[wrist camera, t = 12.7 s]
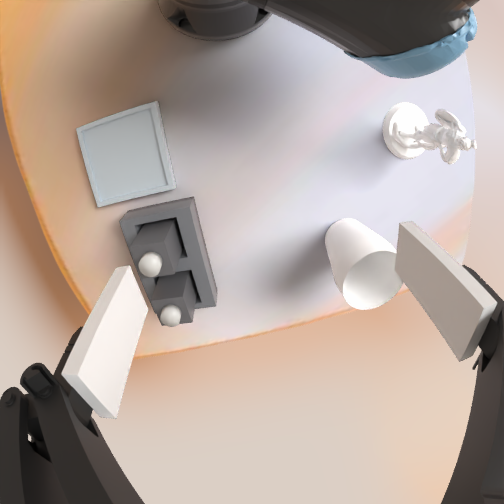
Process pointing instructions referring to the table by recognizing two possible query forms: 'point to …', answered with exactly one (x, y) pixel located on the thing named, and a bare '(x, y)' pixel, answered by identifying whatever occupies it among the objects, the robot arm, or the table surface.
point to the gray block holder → (170, 246)
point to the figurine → (423, 133)
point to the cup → (362, 264)
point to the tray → (127, 155)
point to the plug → (175, 298)
